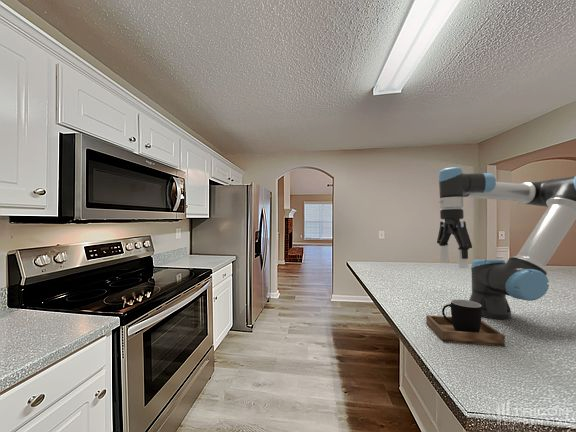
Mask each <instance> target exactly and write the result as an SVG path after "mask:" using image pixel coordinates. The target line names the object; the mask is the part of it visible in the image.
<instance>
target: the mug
mask: <svg viewBox="0 0 576 432" xmlns="http://www.w3.org/2000/svg"><path fill="white" fill-rule="evenodd" d="M448 307H450V313H451V314H450V315H451V316H450V317H452V321H451V320H449V319H448V318H447V317H448V316H447V315H446V313H445V310H446V308H448ZM441 314H442V316H443V317H444V318H445V319H446V320H447V321H448V322H450V323H452V324H453V326H454V329H455V331H462V332H477V333H479V330H480V325H481V321H482V317H483V316H482V305H481V304H479V303H476V302H473V301H469V299H459V298H458V299H456V298H455V299H452V300H450V303H447V304H445V305H443V307H442V309H441Z"/></svg>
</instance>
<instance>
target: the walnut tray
mask: <svg viewBox="0 0 576 432" xmlns="http://www.w3.org/2000/svg"><path fill="white" fill-rule="evenodd" d="M446 317H447V318H448V319H449V320H451V321H452V316H446ZM426 325H427V326H428V328H429V329H431V331H432V332H433V333H434V334H435V335H436V336H437V337H438V338H439V339H440V340H441V341H442V342H446V343H456V344H457V343H458V344H459V343H460V344H471V345H485V346H498V347H506V338H505V337H506V335H504V334H503V333H501V332H500V331H499V330H497V329H495V328H494V327H492V326H491V325H489V324H488V323H486V322H485V321H483V320H481V325H480V330H479V333H477V332H462V331H455V329H454V326H453V324H452V323H450V322H448V321H447V320H446V319H445V318H444V317H443V315H426Z"/></svg>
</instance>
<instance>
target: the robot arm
mask: <svg viewBox="0 0 576 432" xmlns="http://www.w3.org/2000/svg"><path fill="white" fill-rule="evenodd" d="M496 180H497V179H496V177H495V175H493V174H492V173H489V172H488V173H487V172H477V173H476V172H475V173H472V172H471V173H464V172H463V170H462V168H461V167H457V166H456V167H446V168H443V169H441V170H440V171H439V174H438V187H439V189H438V191H439V200H438V203H439V205H440V206H439V207H440V211H439V214H440V216H439V217H440V219H441V220H444V221H439V228H438V229H439V231H438V235H437V241H436V243H437V244H438V245H439V249H440V253H439V255H440V262H441V263H449V260H450V259H449V240H450V238H451V235H453V236H454V239H455V241H456V243H457V245H458V248H457V250H458V266H459V267H458V268H459V269H469V249H472V248H473V245H472V241H471V238H470V235H469V232H468V229H467V223H466V221H465V220H463V221H460V220H462V219H464V198H474V199H475V198H476V199H488V200H496V201H497V200H500V201H508V202H509V201H511V202H517V203H519V204H521V205H531V206H538V207H545V208H547V209H546V210H545V212H544V213H543V214H542V216H541V218H540V219H539V221H538V222H537V224H536V225H535V227H534V228H533V230H532V231H531V233H530V235H529V236H528V237H527V239H526V241H525V242H524V244H523V245H522V247H521V249H520V250H519V252H518V253H517V255H515V256H510V257H509V258H508V260H507V261H505V260H504V259H473V260H472V261H471V295H470V297H469V299H468V301H473V302H476V303H479V304H481V305H482V317H483V318H487V319H488V318H490V319H496V320H509V319H511V318H512V310H511V308H510V305H509V302H508V300H507V296H509V297H512V298H513V299H517V300H522V301H529V302H530V301H532V302H533V301H536V300H539V299H541V298H543V297H544V296H545V295H546V294H547V292H548V291H549V287H550V286H549V281H550V280H549V278H548V276H547V275H548V272H547V270H546V266H547V264H548V263H549V261H550V260H551V258H552V257H553V255H554V254H555V252H556V251H557V248H559V245H561V242H562V241H563V239H564V238H565V236H566V235H567V233H568V232H569V231H570V229H571V227H572V226H573V225H574V223H575V221H576V175H574V176H566V177H560V178H552V179H546V180H541V181H540V180H539V181H524V182H521V183H517V182H516V183H515V182H502V181H496Z"/></svg>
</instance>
